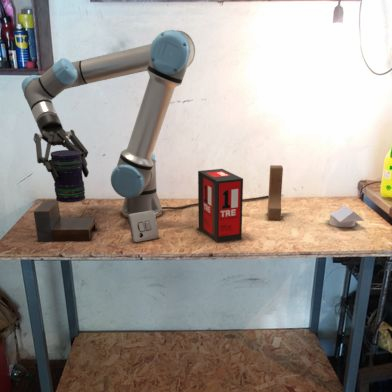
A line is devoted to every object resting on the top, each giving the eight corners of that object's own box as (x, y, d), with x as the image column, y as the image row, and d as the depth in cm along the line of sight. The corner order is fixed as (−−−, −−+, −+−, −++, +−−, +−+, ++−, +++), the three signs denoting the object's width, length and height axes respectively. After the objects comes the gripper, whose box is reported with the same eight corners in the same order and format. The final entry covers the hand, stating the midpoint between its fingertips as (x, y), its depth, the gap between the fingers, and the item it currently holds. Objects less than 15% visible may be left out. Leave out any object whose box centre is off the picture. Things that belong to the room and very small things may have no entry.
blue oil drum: (69, 193, 199) (64, 148, 191) (91, 197, 194) (87, 151, 187) (49, 200, 191) (43, 153, 184) (72, 204, 187) (66, 156, 179)
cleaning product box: (241, 239, 192) (243, 178, 183) (217, 242, 190) (217, 181, 180) (221, 225, 206) (222, 168, 196) (198, 228, 203) (198, 171, 193)
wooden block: (280, 220, 211) (283, 170, 202) (268, 220, 211) (271, 170, 202) (279, 213, 219) (282, 165, 210) (267, 213, 219) (270, 165, 210)
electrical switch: (134, 243, 190) (131, 215, 186) (128, 240, 194) (125, 213, 190) (159, 238, 194) (157, 211, 190) (152, 236, 198) (150, 208, 194)
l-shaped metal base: (96, 228, 205) (93, 199, 200) (89, 241, 192) (86, 211, 187) (47, 228, 205) (43, 200, 200) (37, 241, 193) (33, 211, 188)
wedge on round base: (363, 230, 200) (349, 219, 211) (366, 210, 197) (351, 201, 208) (338, 231, 199) (325, 220, 210) (341, 212, 196) (327, 202, 207)
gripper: (76, 124, 199) (100, 179, 195) (12, 130, 188) (37, 188, 184) (81, 109, 193) (106, 165, 189) (15, 115, 182) (40, 174, 178)
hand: (72, 177), depth 187 cm, fingers closed on blue oil drum, 10 cm apart
